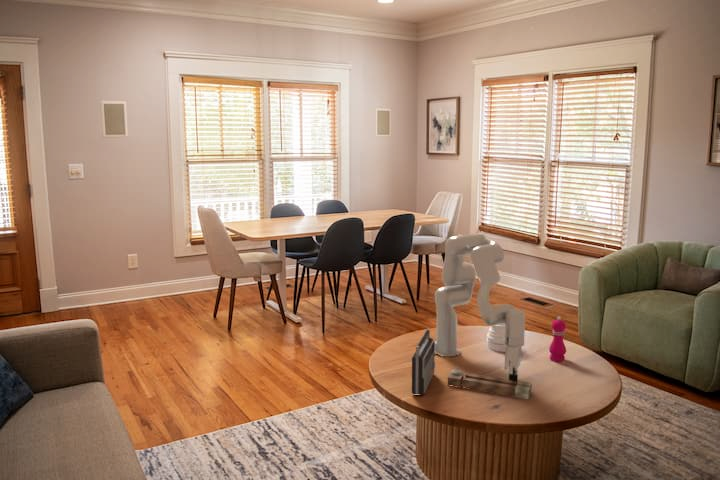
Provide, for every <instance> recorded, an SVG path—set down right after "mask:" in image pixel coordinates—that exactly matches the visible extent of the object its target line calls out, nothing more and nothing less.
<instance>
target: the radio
mask: <svg viewBox="0 0 720 480" xmlns="http://www.w3.org/2000/svg"><path fill="white" fill-rule="evenodd" d="M430 330H431V329H430V328H427V329H426V330H425V333H424V334H423V336H422V337H421V338H420V341H419V342H418V344H417V345H416V346H415V352H414V354H413V355H412V357H411V394H412V393H413V394H420V395H422V396H423V395H425V392H426V391H427V390H428V386H429V385H430V383H431V381H432V378H433V376H434V374H435V368H436V361H435V357H436V354H435V341H436V339H434V338H432V337H430V335H431V332H430Z"/></svg>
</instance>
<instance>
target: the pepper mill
mask: <svg viewBox="0 0 720 480" xmlns="http://www.w3.org/2000/svg"><path fill="white" fill-rule="evenodd" d="M551 328H552V334H553V339H552V341H551V343H550V346H549V349H548V351H549V353H550V355H549V360H551V361H552V362H557V363H562V362H565V354H566V353H567V348H566V346H565V342H564V335H565V330H566V328H567V324H566V322H565V321H564V320H562V317H561V316H558V317H556V319H555V320H553V322H552V323H551Z"/></svg>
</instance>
